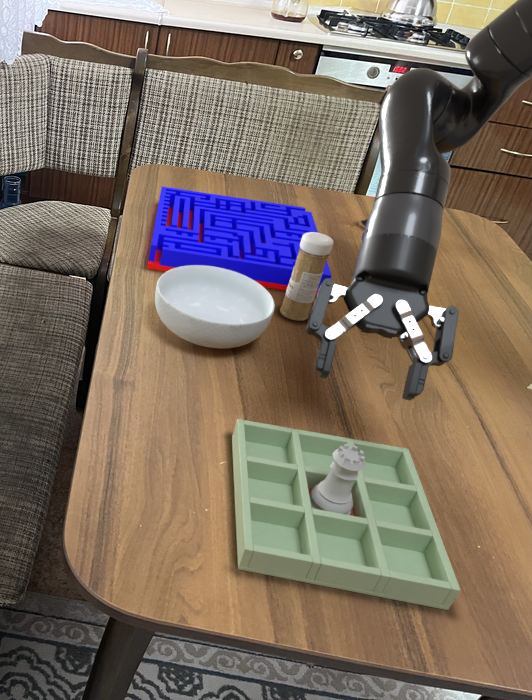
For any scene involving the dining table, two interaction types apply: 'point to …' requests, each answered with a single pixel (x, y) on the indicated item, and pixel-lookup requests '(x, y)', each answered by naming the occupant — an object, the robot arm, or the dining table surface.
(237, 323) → the cereal bowl
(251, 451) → the grid
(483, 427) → the dining table surface
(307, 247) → the sprinkles bottle
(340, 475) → the rook chess piece
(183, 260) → the maze
